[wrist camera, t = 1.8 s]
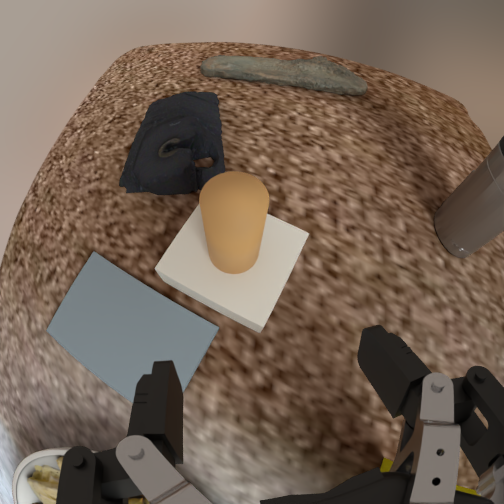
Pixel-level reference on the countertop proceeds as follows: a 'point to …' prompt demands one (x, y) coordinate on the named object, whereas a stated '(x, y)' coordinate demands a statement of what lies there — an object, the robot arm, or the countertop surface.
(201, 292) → the white square block
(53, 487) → the bowl
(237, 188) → the tan rounded cylinder
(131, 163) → the black flat bumpy piece
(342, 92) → the long grey stone
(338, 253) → the countertop surface
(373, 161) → the countertop surface
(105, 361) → the mat
